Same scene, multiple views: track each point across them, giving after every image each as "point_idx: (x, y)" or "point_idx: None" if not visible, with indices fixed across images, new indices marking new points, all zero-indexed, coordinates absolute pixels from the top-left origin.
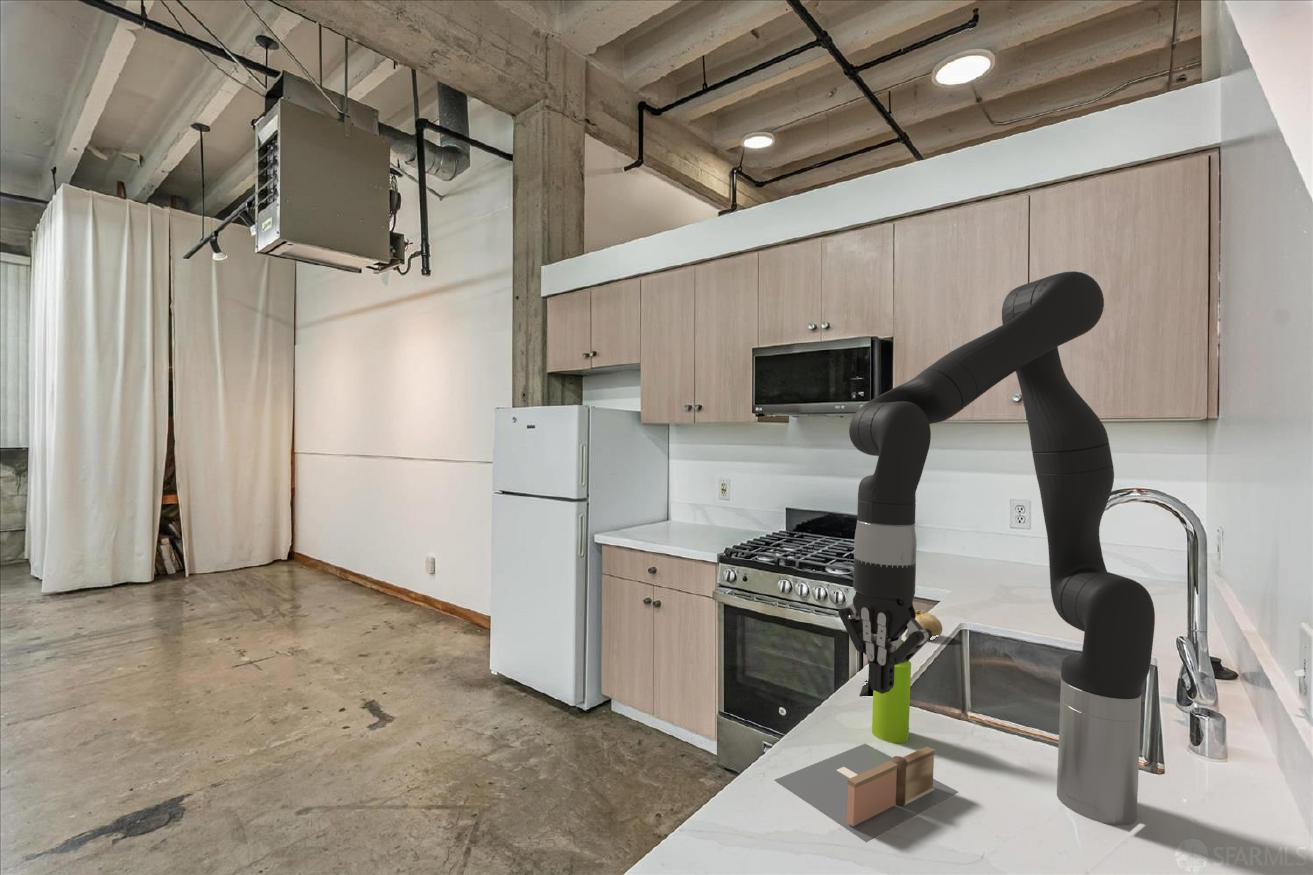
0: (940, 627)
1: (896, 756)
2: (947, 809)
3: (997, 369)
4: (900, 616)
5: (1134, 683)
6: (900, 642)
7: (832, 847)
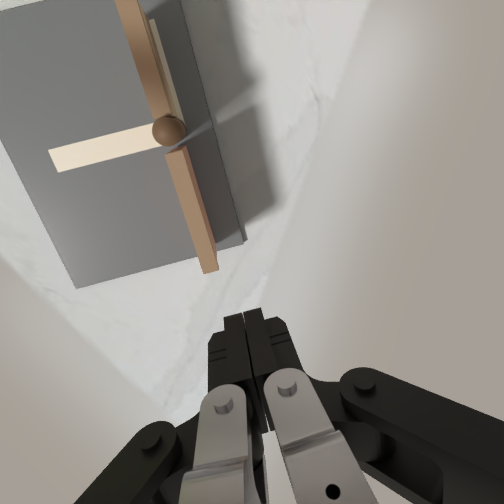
0: None
1: (153, 128)
2: (207, 45)
3: None
4: None
5: None
6: (343, 438)
7: (234, 283)
